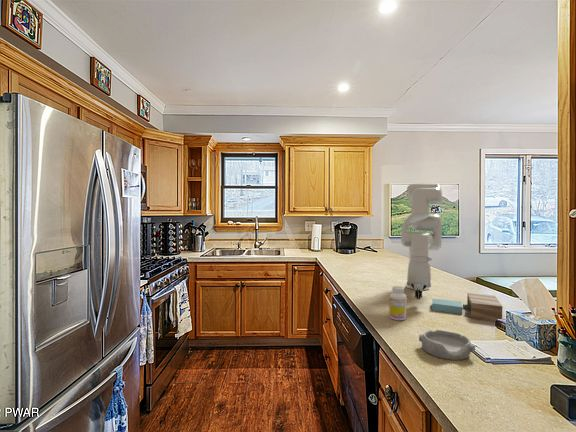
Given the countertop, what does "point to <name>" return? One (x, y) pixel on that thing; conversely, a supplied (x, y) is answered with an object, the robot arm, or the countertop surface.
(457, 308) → the pale blue foam block
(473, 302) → the shelf dock
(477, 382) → the countertop surface
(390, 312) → the supplement bottle
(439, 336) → the dish
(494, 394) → the countertop surface
